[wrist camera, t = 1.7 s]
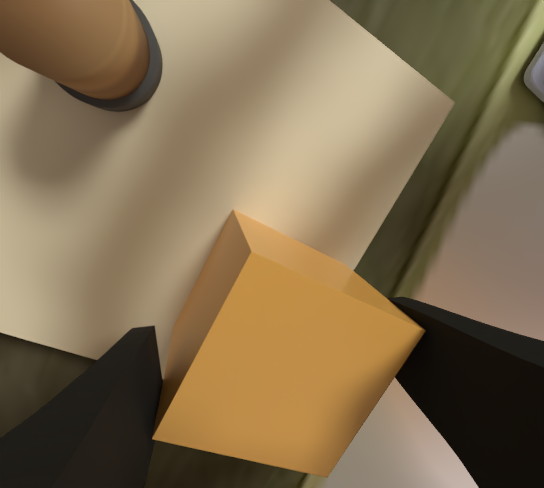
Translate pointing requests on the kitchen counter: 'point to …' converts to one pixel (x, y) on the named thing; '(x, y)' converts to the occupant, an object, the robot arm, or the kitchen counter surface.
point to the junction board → (186, 150)
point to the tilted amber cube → (278, 353)
